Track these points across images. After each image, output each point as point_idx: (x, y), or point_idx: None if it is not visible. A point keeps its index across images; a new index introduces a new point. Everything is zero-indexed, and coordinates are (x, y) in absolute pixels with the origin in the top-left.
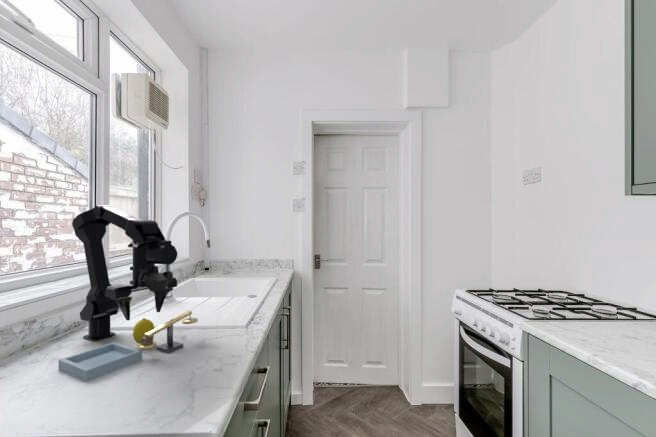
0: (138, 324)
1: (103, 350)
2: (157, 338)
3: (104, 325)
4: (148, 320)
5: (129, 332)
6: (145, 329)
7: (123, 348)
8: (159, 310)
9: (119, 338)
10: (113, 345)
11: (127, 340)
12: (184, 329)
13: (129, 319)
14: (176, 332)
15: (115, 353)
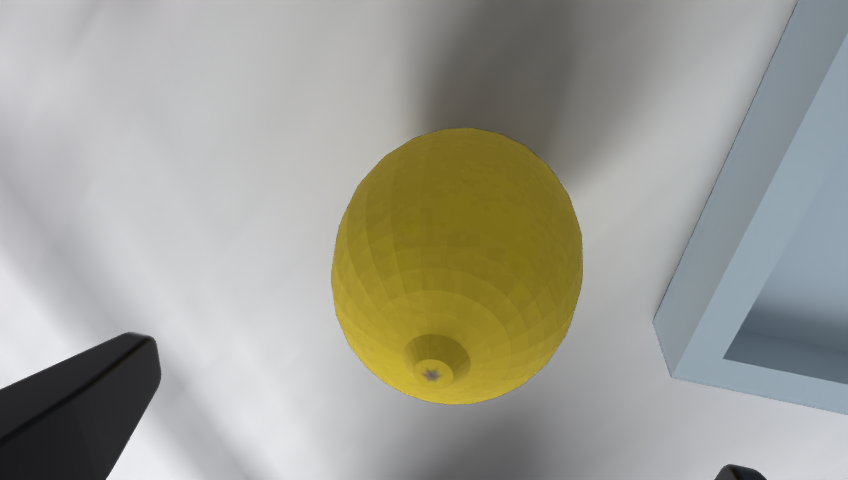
0: (543, 338)
1: (792, 351)
2: (291, 208)
3: None
4: (401, 299)
5: (307, 474)
6: (526, 197)
7: (817, 173)
8: (121, 349)
9: (417, 457)
10: (728, 334)
11: None
12: (16, 148)
13: (739, 469)
14: (105, 160)
15: (810, 221)
